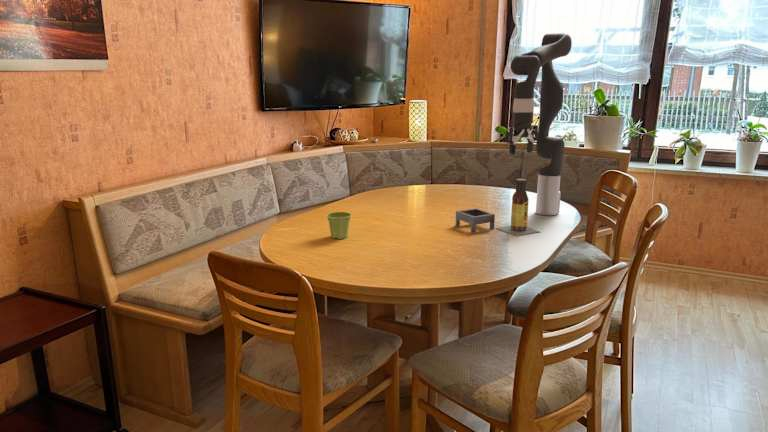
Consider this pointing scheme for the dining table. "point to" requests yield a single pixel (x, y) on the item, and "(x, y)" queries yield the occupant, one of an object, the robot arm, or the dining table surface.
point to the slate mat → (518, 233)
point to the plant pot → (339, 224)
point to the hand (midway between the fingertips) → (520, 153)
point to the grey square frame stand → (475, 218)
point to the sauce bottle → (519, 206)
